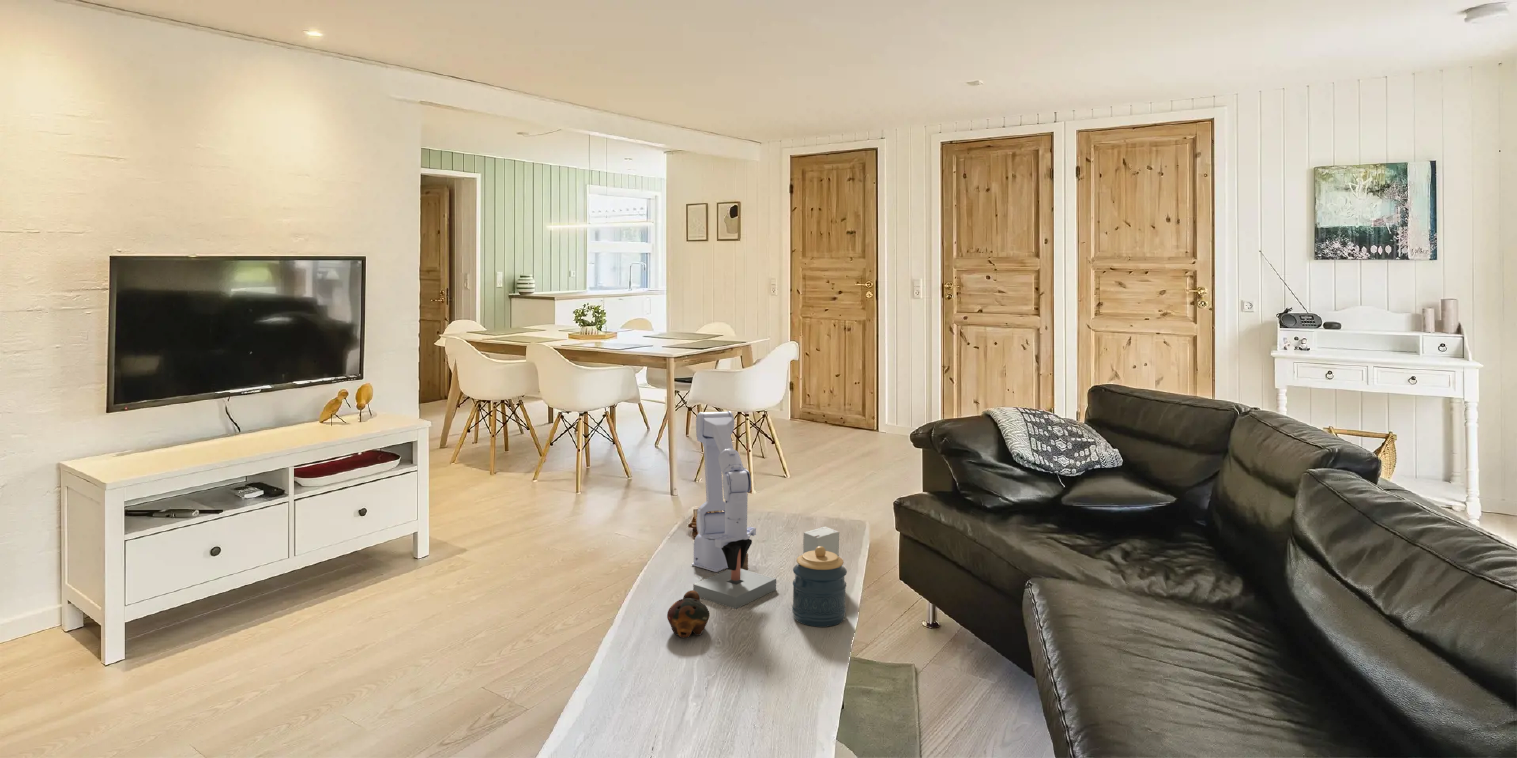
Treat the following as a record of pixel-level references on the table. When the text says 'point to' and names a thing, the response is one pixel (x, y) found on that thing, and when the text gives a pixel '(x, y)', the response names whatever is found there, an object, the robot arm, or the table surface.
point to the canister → (819, 588)
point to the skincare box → (821, 540)
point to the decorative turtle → (688, 615)
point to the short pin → (745, 563)
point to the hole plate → (735, 588)
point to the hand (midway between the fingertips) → (735, 568)
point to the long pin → (737, 568)
